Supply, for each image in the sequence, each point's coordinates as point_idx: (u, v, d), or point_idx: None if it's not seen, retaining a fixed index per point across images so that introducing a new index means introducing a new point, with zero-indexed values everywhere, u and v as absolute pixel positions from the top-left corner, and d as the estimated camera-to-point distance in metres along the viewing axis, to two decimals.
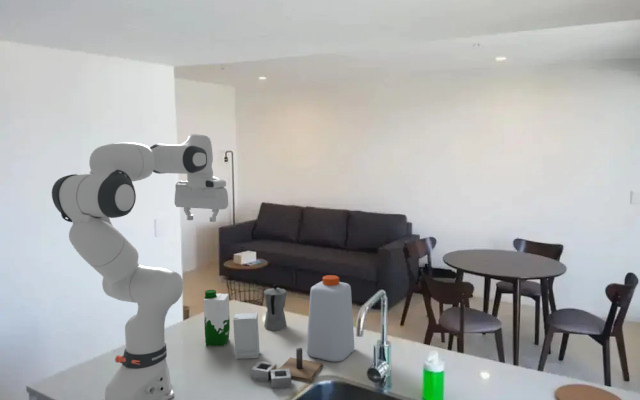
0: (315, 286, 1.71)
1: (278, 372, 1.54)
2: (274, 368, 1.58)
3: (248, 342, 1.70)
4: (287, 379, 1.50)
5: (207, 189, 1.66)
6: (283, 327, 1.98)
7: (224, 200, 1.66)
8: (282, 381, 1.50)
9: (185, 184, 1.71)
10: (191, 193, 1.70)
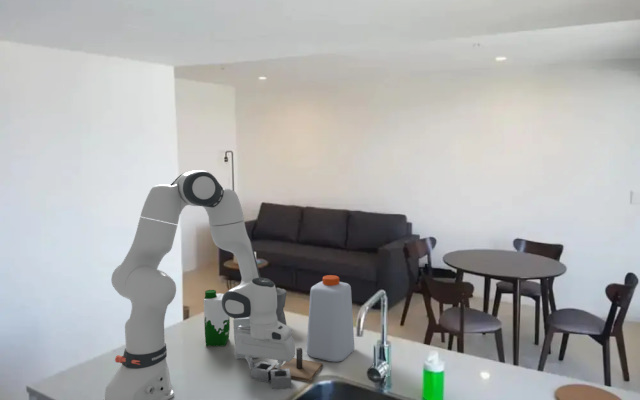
0: (315, 286, 1.71)
1: (278, 372, 1.54)
2: (274, 368, 1.58)
3: None
4: (287, 379, 1.50)
5: (273, 340, 1.53)
6: None
7: (292, 351, 1.53)
8: (282, 381, 1.50)
9: (246, 330, 1.58)
10: (254, 341, 1.56)
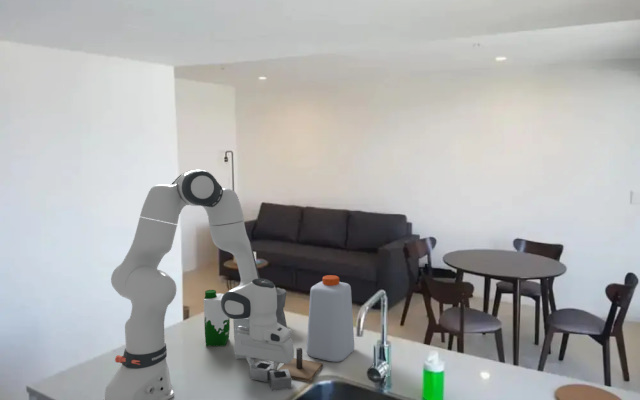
0: (315, 286, 1.71)
1: (277, 373, 1.53)
2: None
3: None
4: (287, 380, 1.49)
5: (272, 342, 1.51)
6: None
7: (290, 353, 1.52)
8: (282, 382, 1.49)
9: (246, 331, 1.57)
10: (253, 342, 1.55)
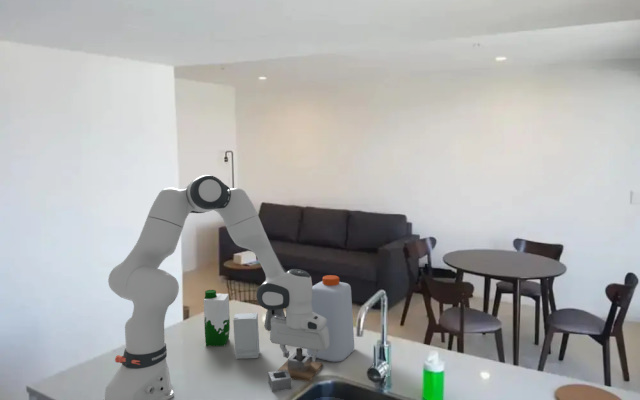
0: (315, 286, 1.71)
1: (276, 374, 1.53)
2: (309, 359, 1.62)
3: (248, 342, 1.70)
4: (287, 380, 1.49)
5: (309, 330, 1.56)
6: None
7: (326, 341, 1.57)
8: (282, 382, 1.49)
9: (282, 320, 1.62)
10: (289, 331, 1.60)
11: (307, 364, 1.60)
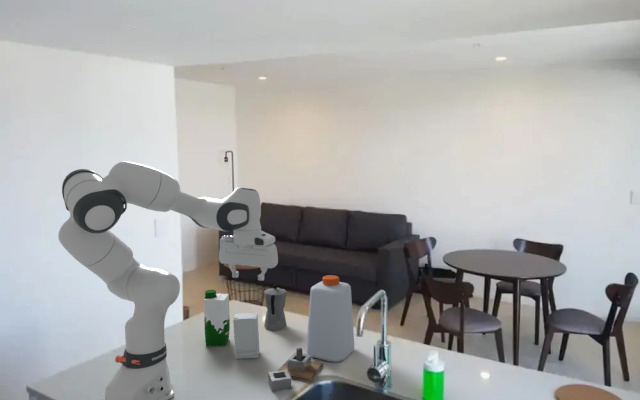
0: (315, 286, 1.71)
1: (276, 374, 1.53)
2: (309, 359, 1.62)
3: (248, 342, 1.70)
4: (287, 380, 1.49)
5: (256, 247, 1.54)
6: (283, 327, 1.98)
7: (274, 258, 1.54)
8: (282, 382, 1.49)
9: (230, 239, 1.59)
10: (237, 249, 1.58)
11: (307, 364, 1.60)
